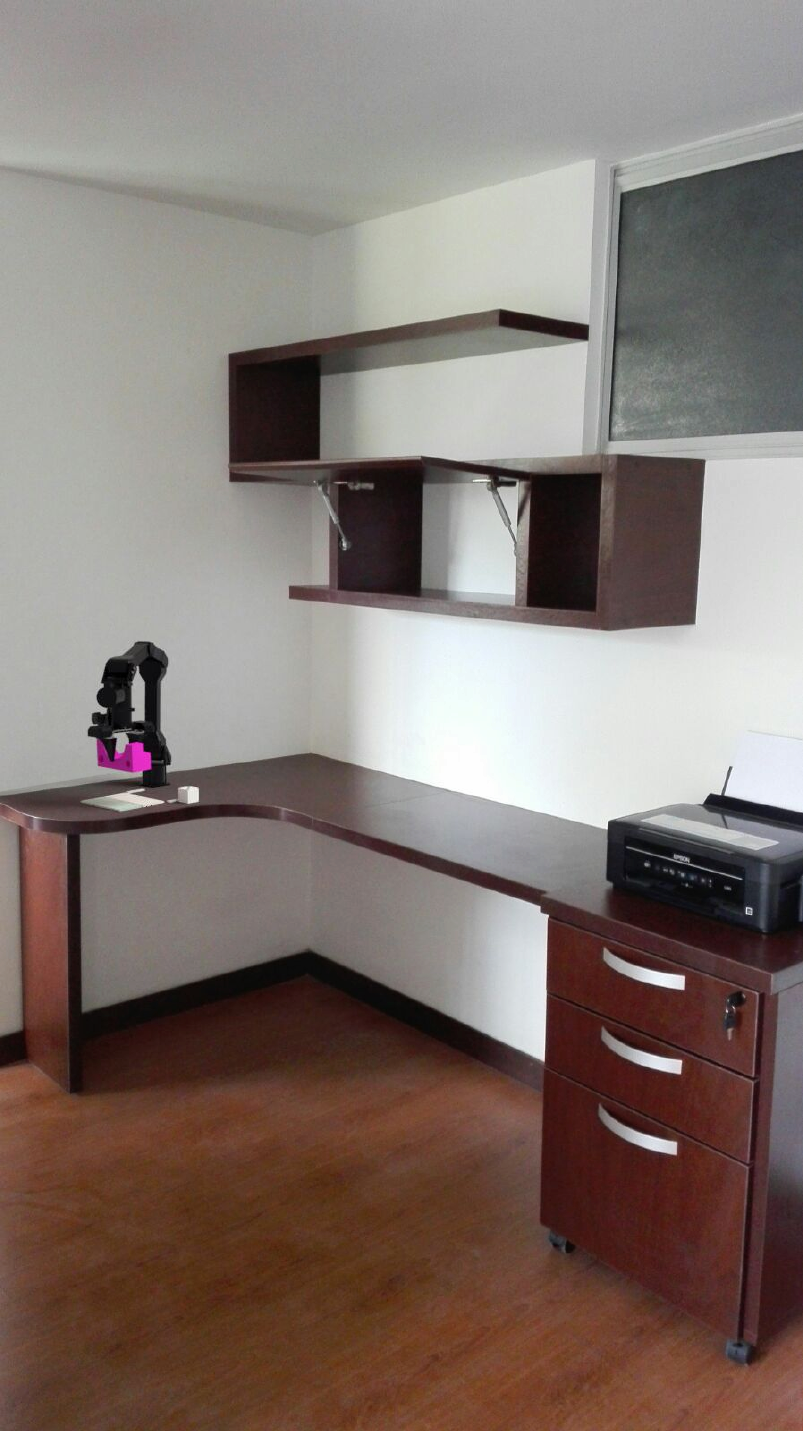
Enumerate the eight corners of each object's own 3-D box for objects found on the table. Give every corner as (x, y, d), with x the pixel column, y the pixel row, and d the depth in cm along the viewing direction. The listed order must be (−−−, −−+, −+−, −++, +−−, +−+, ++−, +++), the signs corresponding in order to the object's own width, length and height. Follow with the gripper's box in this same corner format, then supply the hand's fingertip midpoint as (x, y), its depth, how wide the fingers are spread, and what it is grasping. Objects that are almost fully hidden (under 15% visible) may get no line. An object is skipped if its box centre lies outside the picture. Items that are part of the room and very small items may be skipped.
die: (189, 799, 334) (188, 785, 333) (198, 801, 331) (198, 787, 331) (178, 802, 331) (178, 787, 330) (187, 804, 328) (187, 789, 328)
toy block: (151, 769, 324) (150, 742, 322) (133, 772, 319) (132, 745, 318) (115, 762, 333) (114, 736, 332) (97, 766, 328) (96, 739, 327)
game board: (142, 790, 345) (142, 788, 345) (186, 799, 334) (186, 797, 333) (78, 802, 328) (78, 800, 328) (122, 812, 316) (122, 810, 316)
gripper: (128, 698, 336) (129, 753, 338) (74, 704, 322) (75, 760, 323) (155, 702, 329) (155, 757, 331) (100, 707, 315) (101, 765, 317)
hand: (121, 760), depth 326 cm, fingers closed on toy block, 6 cm apart
